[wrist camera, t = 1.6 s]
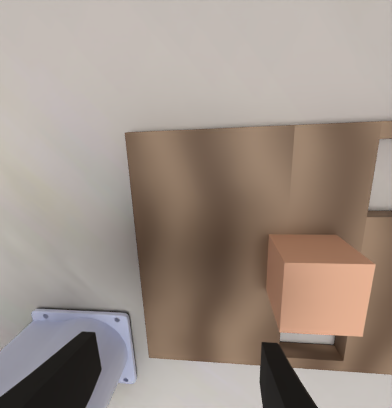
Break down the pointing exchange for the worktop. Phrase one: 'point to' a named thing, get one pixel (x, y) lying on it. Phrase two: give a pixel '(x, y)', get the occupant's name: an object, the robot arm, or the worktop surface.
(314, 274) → the block
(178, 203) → the trap deck
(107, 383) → the robot arm
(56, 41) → the worktop surface
